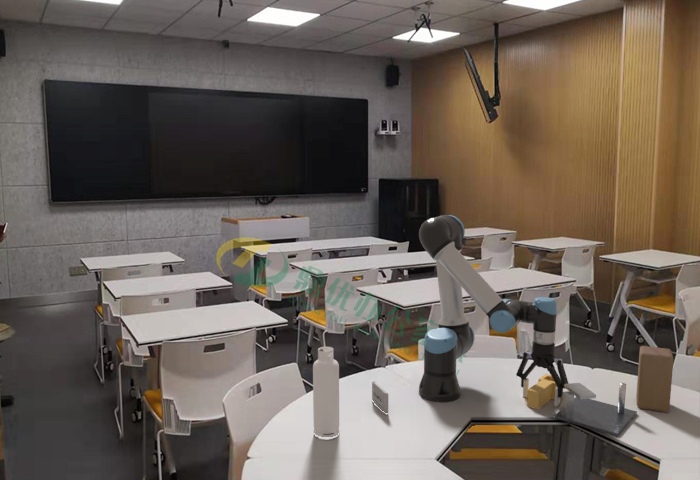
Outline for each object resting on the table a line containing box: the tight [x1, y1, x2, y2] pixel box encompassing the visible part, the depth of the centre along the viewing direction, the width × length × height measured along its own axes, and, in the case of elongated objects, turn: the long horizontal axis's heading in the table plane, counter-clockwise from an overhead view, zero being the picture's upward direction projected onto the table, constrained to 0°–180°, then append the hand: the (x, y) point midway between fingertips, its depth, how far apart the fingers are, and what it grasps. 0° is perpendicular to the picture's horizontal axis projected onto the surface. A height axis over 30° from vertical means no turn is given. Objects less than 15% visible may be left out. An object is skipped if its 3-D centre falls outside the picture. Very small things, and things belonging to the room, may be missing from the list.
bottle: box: [312, 346, 340, 437], centre depth 183 cm, size 8×8×28 cm
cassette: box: [371, 381, 389, 414], centre depth 203 cm, size 12×2×8 cm, turn 21°
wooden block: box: [635, 345, 674, 413], centre depth 204 cm, size 10×10×20 cm
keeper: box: [561, 382, 597, 418], centre depth 195 cm, size 8×10×10 cm
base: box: [554, 382, 638, 438], centre depth 196 cm, size 20×21×11 cm
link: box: [526, 373, 557, 410], centre depth 210 cm, size 18×6×6 cm, turn 139°
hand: (541, 400), depth 209 cm, fingers open, 11 cm apart
